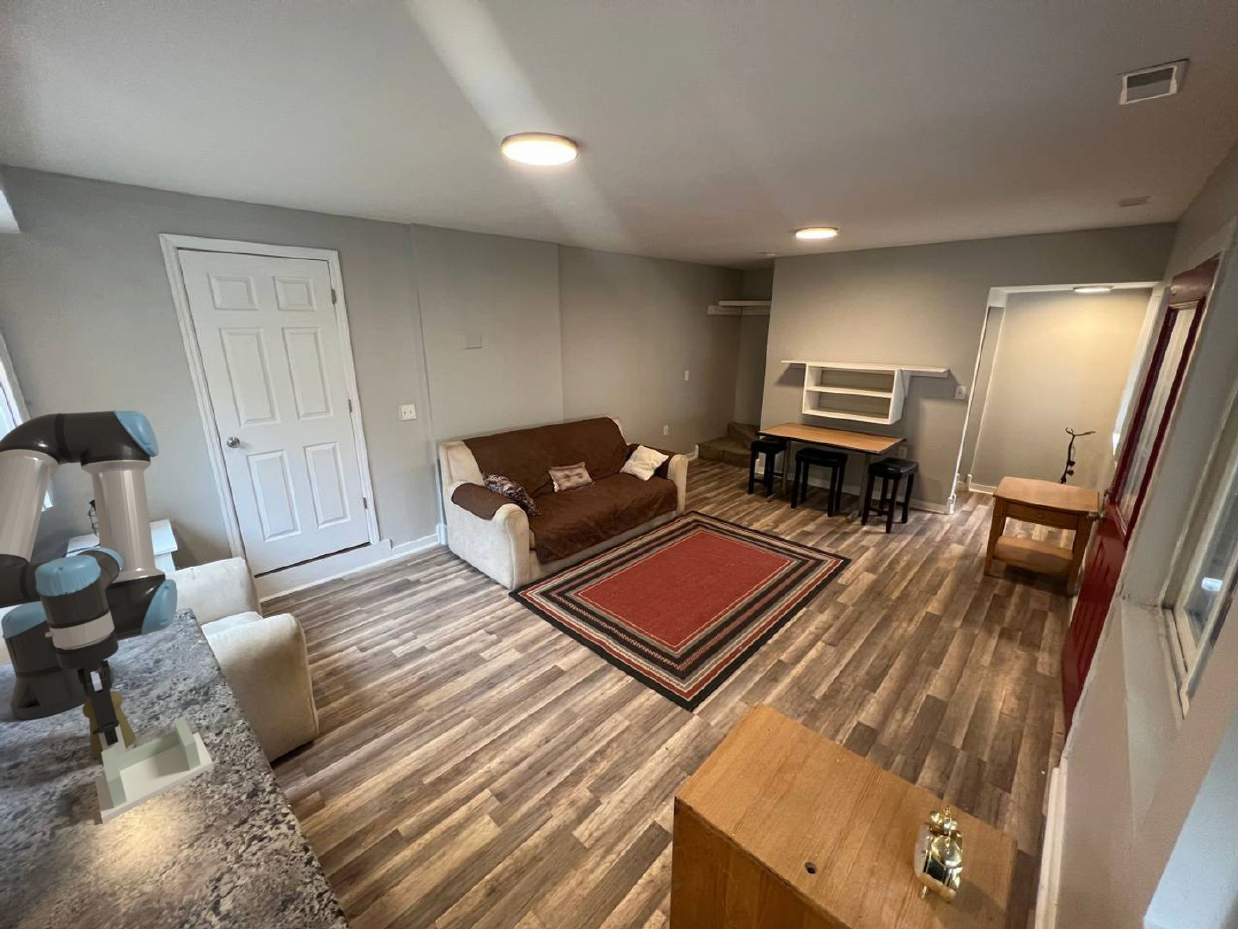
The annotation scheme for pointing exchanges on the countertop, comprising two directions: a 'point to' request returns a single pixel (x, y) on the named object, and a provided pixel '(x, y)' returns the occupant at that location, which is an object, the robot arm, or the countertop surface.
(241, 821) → the countertop surface
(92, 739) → the brown rounded knob
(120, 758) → the holder
